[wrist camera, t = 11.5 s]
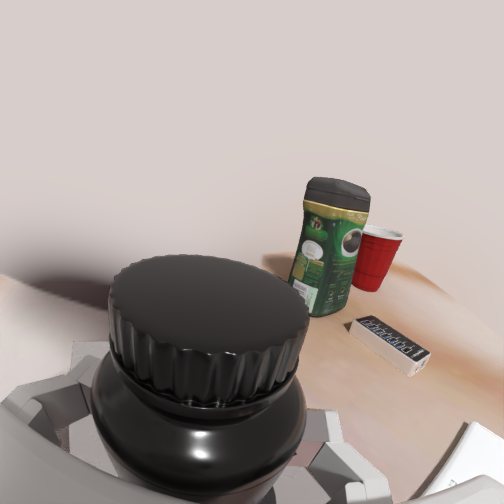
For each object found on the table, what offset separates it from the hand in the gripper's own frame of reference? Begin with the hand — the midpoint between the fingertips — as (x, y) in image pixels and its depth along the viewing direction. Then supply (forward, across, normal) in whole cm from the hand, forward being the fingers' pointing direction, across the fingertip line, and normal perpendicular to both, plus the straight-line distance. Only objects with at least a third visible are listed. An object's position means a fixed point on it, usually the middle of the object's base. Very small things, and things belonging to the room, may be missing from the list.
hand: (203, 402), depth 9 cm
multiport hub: (+20, -19, +9) cm, 29 cm away
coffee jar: (+30, -10, +9) cm, 33 cm away
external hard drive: (-2, -21, +10) cm, 23 cm away
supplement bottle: (-1, 0, +7) cm, 7 cm away
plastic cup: (+43, -22, +9) cm, 49 cm away
